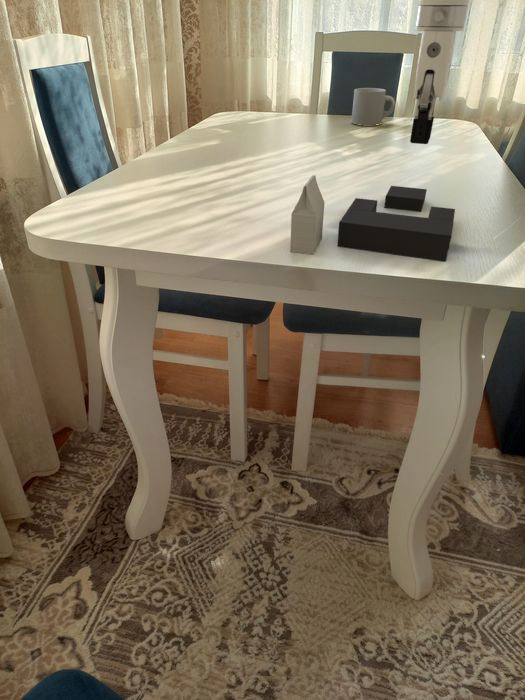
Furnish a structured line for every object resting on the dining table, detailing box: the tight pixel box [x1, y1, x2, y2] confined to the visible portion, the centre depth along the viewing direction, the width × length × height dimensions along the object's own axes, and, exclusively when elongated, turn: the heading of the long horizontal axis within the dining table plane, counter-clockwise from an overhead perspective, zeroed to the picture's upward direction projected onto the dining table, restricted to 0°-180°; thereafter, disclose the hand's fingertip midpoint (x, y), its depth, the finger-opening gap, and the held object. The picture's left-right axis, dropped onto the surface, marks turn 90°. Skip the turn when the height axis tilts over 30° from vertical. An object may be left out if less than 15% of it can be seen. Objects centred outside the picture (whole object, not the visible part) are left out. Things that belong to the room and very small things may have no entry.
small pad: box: [383, 185, 428, 213], centre depth 89 cm, size 6×6×4 cm
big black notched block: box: [336, 197, 456, 262], centre depth 79 cm, size 16×13×4 cm
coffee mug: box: [350, 87, 396, 125], centre depth 160 cm, size 13×10×10 cm
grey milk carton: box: [289, 174, 326, 255], centre depth 75 cm, size 4×7×10 cm, turn 164°
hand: (420, 140), depth 90 cm, fingers closed
